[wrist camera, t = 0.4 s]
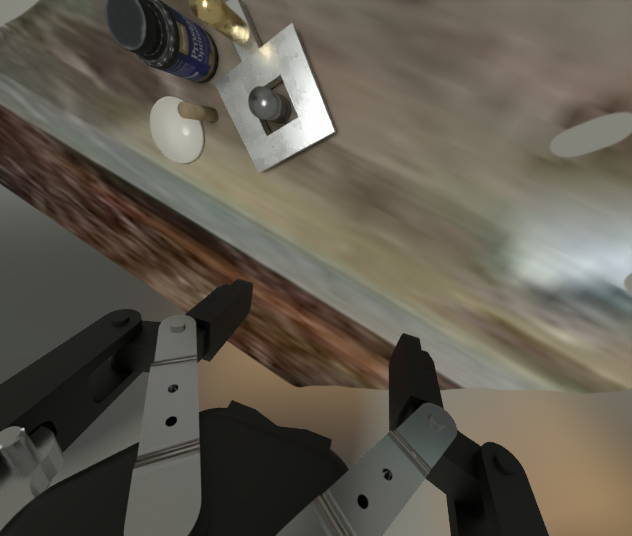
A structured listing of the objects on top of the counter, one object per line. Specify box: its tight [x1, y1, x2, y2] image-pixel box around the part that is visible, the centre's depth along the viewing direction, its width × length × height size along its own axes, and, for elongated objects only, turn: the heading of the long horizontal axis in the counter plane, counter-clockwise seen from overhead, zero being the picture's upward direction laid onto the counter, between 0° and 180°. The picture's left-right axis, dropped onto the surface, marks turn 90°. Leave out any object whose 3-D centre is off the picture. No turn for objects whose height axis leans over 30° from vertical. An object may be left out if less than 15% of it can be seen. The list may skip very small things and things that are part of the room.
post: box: [248, 86, 291, 123], centre depth 32 cm, size 3×3×6 cm
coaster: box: [150, 96, 205, 163], centre depth 39 cm, size 9×9×1 cm
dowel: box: [177, 102, 218, 122], centre depth 35 cm, size 2×2×6 cm
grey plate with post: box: [189, 0, 337, 173], centre depth 30 cm, size 18×12×9 cm
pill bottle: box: [105, 0, 217, 83], centre depth 30 cm, size 6×6×11 cm
